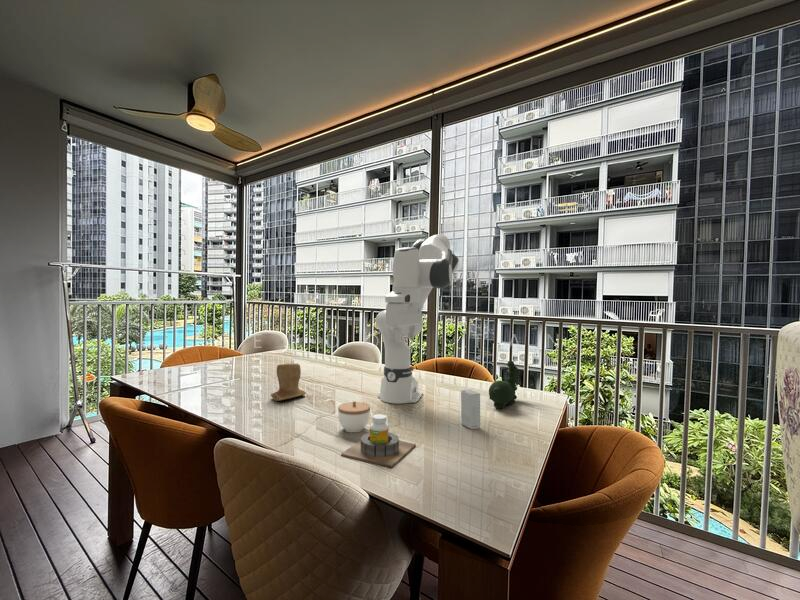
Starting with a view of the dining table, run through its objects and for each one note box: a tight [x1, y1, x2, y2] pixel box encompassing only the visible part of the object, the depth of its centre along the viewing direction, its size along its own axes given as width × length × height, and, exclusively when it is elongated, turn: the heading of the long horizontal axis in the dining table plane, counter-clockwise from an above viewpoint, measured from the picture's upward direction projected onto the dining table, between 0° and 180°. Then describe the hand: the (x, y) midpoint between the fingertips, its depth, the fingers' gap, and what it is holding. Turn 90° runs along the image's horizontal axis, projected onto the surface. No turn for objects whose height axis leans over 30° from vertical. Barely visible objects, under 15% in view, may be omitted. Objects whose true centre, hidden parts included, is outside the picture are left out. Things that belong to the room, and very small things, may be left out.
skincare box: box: [460, 389, 481, 430], centre depth 131 cm, size 6×4×12 cm
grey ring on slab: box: [340, 431, 417, 469], centre depth 109 cm, size 16×16×4 cm
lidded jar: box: [337, 400, 371, 433], centre depth 126 cm, size 11×11×9 cm
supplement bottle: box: [369, 413, 390, 443], centre depth 108 cm, size 5×5×10 cm
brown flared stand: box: [270, 363, 307, 402], centre depth 162 cm, size 15×12×15 cm
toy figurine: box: [488, 360, 519, 410], centre depth 157 cm, size 9×19×25 cm
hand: (404, 339), depth 121 cm, fingers open, 8 cm apart
